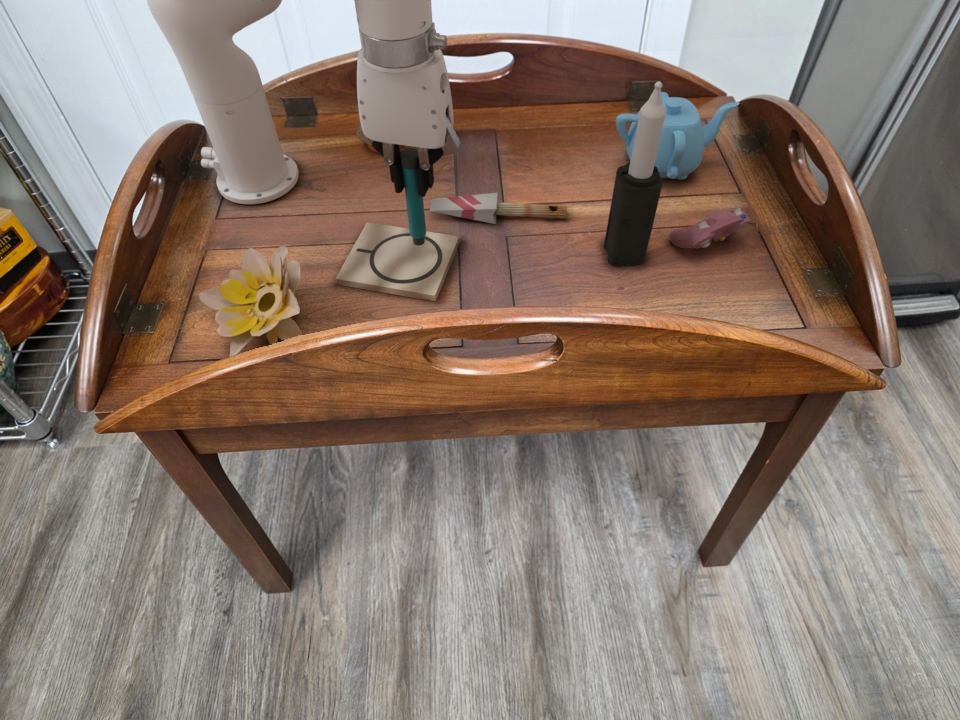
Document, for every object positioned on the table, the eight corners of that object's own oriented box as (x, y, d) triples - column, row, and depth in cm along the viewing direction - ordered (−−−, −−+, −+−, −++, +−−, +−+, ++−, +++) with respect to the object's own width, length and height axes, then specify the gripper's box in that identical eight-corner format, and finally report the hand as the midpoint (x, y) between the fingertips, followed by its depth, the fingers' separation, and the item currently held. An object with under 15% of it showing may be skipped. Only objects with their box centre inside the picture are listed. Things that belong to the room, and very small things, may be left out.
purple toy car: (678, 264, 91) (704, 243, 84) (664, 236, 92) (688, 213, 85) (733, 241, 94) (762, 220, 87) (718, 214, 94) (746, 191, 88)
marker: (407, 246, 88) (397, 157, 77) (413, 234, 89) (403, 146, 78) (424, 249, 88) (416, 160, 77) (429, 237, 89) (422, 149, 78)
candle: (602, 242, 92) (630, 71, 72) (637, 239, 92) (675, 68, 73) (609, 267, 89) (641, 95, 69) (646, 264, 89) (688, 92, 69)
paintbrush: (431, 188, 95) (567, 197, 95) (432, 203, 98) (564, 212, 97) (428, 204, 93) (567, 213, 93) (429, 219, 95) (565, 228, 95)
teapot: (603, 166, 104) (611, 103, 95) (659, 128, 109) (672, 64, 100) (667, 203, 98) (682, 139, 89) (723, 160, 103) (742, 96, 94)
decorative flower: (195, 286, 86) (186, 226, 78) (281, 274, 90) (281, 218, 83) (217, 372, 78) (210, 316, 70) (311, 355, 83) (313, 300, 75)
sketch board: (337, 284, 88) (335, 277, 87) (368, 228, 95) (366, 221, 94) (435, 301, 85) (435, 294, 84) (459, 242, 93) (459, 235, 92)
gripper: (481, 33, 68) (482, 179, 82) (338, 17, 71) (364, 162, 85) (463, 68, 63) (467, 217, 78) (311, 50, 66) (342, 197, 81)
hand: (413, 187), depth 81 cm, fingers closed on marker, 2 cm apart
